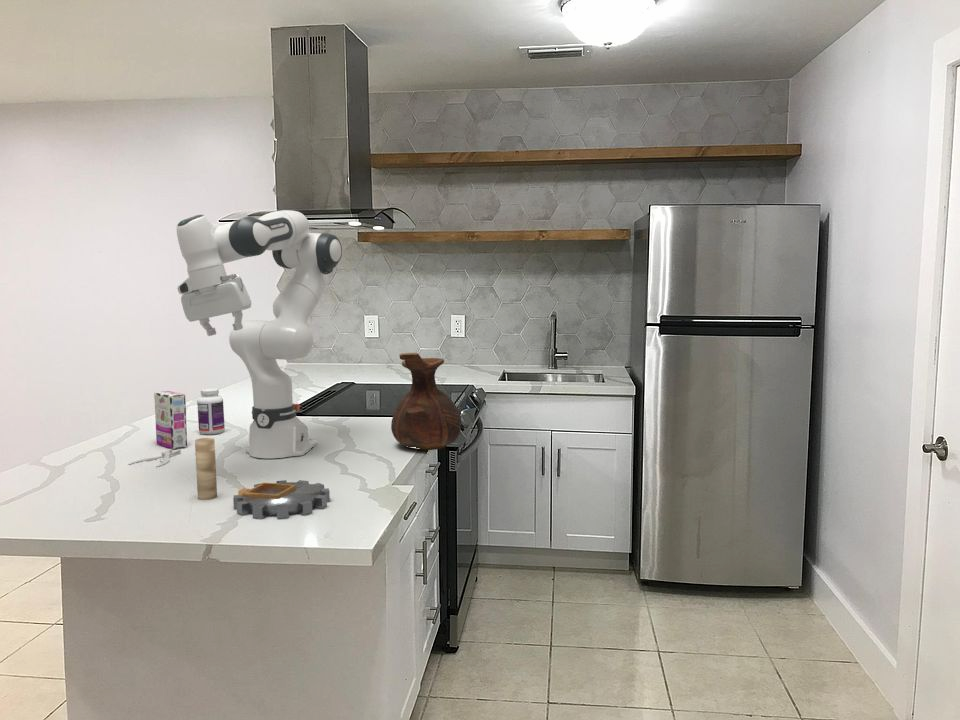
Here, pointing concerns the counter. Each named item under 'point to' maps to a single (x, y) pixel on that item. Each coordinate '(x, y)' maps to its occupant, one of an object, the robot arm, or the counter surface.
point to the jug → (425, 408)
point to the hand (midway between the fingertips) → (225, 332)
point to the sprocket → (281, 499)
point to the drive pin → (206, 468)
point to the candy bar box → (170, 420)
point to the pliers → (165, 455)
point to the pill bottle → (210, 412)
